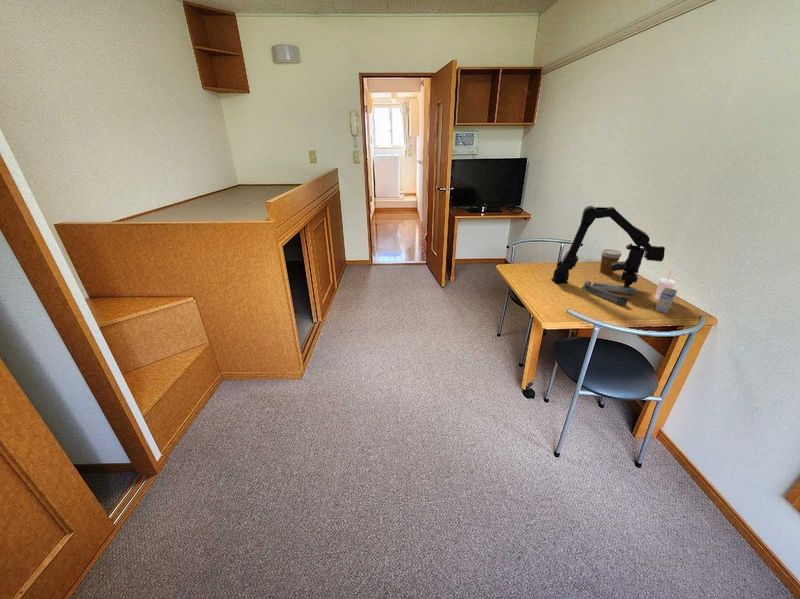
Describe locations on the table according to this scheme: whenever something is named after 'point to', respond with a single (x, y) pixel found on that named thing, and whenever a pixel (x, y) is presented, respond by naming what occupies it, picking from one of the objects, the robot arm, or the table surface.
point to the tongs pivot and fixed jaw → (605, 294)
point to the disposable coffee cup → (609, 260)
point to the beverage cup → (664, 285)
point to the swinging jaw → (616, 288)
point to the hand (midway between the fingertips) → (625, 288)
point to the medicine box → (665, 300)
